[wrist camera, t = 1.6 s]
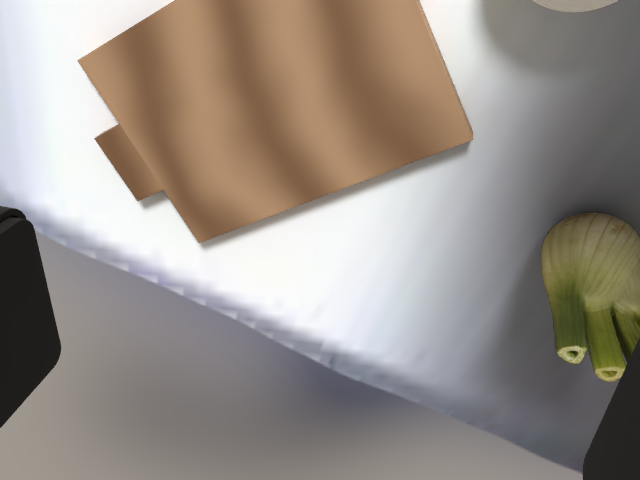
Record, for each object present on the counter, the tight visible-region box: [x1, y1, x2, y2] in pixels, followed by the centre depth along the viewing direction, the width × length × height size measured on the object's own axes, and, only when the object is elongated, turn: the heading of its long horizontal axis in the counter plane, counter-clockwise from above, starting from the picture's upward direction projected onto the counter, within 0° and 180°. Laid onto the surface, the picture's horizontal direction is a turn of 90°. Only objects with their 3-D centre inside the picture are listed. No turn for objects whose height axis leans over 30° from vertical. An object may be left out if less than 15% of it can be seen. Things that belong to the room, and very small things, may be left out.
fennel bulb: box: [541, 212, 640, 382], centre depth 30 cm, size 6×5×12 cm
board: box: [78, 0, 473, 243], centre depth 35 cm, size 22×14×1 cm, turn 118°
